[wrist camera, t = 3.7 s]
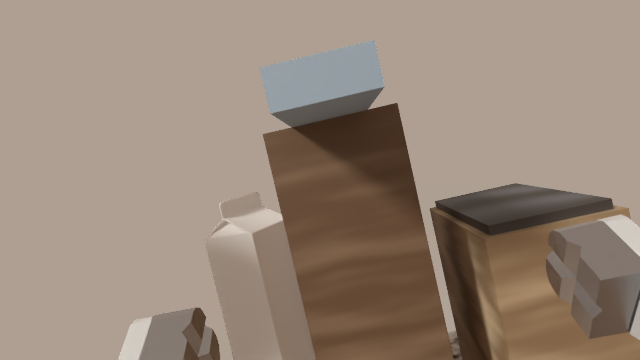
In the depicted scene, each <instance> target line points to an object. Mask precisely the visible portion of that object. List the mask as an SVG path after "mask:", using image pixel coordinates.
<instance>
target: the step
mask: <svg viewBox="0 0 640 360" xmlns="http://www.w3.org/2000/svg"><path fill="white" fill-rule="evenodd" d="M435 203H436V207H434V208H430V212H431V217H432V221H433V226H434V230H435V235H436V240H437V244H438V248H439V253H440V258H441V262H442V267H443V272H444V276H445V281H446V286H447V290H448V295H449V299H450V304H451V309H452V313H453V317H454V322H455V327H456V331H457V336H458V341H459V345H460V350H461V354H462V359H463V360H640V340H639V339H637V338H635V337H634V336H632V335H631V334H630V332H626V333H621V334H615V335H610V336H604V337H598V338H593V339H588V337H587V336H586V335H585V333H584V332H583V330H582V329H581V328H580V326H579V325H578V324H577V322H576V321H575V319H574V318H573V317H572V315H571V307H572V304H570V303H568V302H566V301H564V300H562V299H560V298H559V297H558V296H557V294H556V293H555V291H554V290H553V288H552V286H551V284H550V282H549V280H548V276H547V272H546V258H547V256H548V255H549V254H550V253H551V252H552V251H553V249H552V248H551V247H550V246H549V244H548V237H549V234H550V232H551V231H552V230H554V229H559V228H563V227H568V226H572V225H576V224H581V223H585V222H590V221H596V220H599V219H603V218H608V217H612V216H616V215H624V216H626V217H628V218H629V219H630V220H631V218H630V214H629V208H625V207H619V206H614V205H613V203H612V199H611V198H604V197H598V196H591V195H585V194H579V193H572V192H566V191H560V190H553V189H547V188H540V187H534V186H528V185H522V184H511V185H506V186H502V187H497V188H493V189H488V190H484V191H479V192H475V193H470V194H466V195H461V196H457V197H452V198H448V199H443V200H439V201H435Z"/></svg>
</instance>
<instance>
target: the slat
mask: <svg viewBox="0 0 640 360" xmlns="http://www.w3.org/2000/svg"><path fill="white" fill-rule="evenodd" d="M260 71H261V75H262V79H263V84H264V88H265V92H266V96H267V101H268V105H269V109H270V114H272V115H273V116H275V117H276V118H278V119H280V120H281V121H283V122H284V123H286V124H287V125H289V126H291V127H296V126H301V125H305V124H309V123H313V122H318V121H322V120H326V119H331V118H335V117H339V116H343V115H348V114H352V113H356V112H360V111H365V110H368V108H369V107H370V106H371V104H372V103H373V102H374V100H375V99H376V98H377V96H378V95H379V93H380V92H381V91H382V90H383V88H384V83H383V77H382V73H381V68H380V64H379V59H378V54H377V50H376V45H375V41H374V40H373V41H369V42H365V43H360V44H356V45H352V46H348V47H344V48H340V49H335V50H332V51H328V52H323V53H319V54H315V55H311V56H307V57H302V58H298V59H294V60H290V61H286V62H282V63H277V64H273V65H269V66H265V67H261V68H260Z"/></svg>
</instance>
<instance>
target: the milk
mask: <svg viewBox="0 0 640 360" xmlns="http://www.w3.org/2000/svg"><path fill="white" fill-rule="evenodd" d="M219 206H220V212H221V216H222V220H221V221H220V222H219V224H218V225H217V226H216V227H215V228H214V229H213V230H212V232H211V233H210V234H209V235H208V236H207V238H206V239H205V244H206V248H207V252H208V257H209V260H210V265H211V269H212V272H213V277H214V280H215V285H216V289H217V293H218V297H219V301H220V305H221V309H222V313H223V317H224V321H225V326H226V330H227V334H228V338H229V341H230V346H231V350H232V354H233V358H234V360H316V358H315V354H314V349H313V345H312V341H311V337H310V332H309V328H308V324H307V320H306V315H305V311H304V307H303V303H302V298H301V294H300V290H299V286H298V281H297V277H296V273H295V269H294V264H293V260H292V256H291V252H290V247H289V243H288V239H287V235H286V230H285V226H284V222H283V218H282V215H281V214H279V213H277V212H275V211H272V210H270V209H268V208H266V207H264V206H262V204H261V200H260V196H259V193H258V192H255V193H251V194H248V195H244V196H241V197H237V198H234V199H231V200H227V201H224V202H221V203H220V205H219Z"/></svg>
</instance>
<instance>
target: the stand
mask: <svg viewBox="0 0 640 360" xmlns="http://www.w3.org/2000/svg"><path fill="white" fill-rule="evenodd" d="M263 137H264V141H265V145H266V149H267V154H268V158H269V162H270V167H271V171H272V175H273V179H274V184H275V188H276V192H277V196H278V201H279V205H280V209H281V213H282V218H283V222H284V226H285V230H286V235H287V239H288V243H289V247H290V252H291V256H292V260H293V264H294V269H295V273H296V277H297V281H298V286H299V290H300V294H301V298H302V303H303V307H304V311H305V315H306V320H307V324H308V328H309V332H310V337H311V341H312V345H313V349H314V354H315V358H316V360H453V355H452V351H451V346H450V342H449V337H448V332H447V328H446V323H445V319H444V314H443V310H442V305H441V300H440V296H439V291H438V287H437V283H436V278H435V273H434V269H433V265H432V260H431V255H430V251H429V246H428V241H427V237H426V233H425V227H424V223H423V219H422V214H421V209H420V205H419V200H418V196H417V191H416V186H415V182H414V177H413V173H412V168H411V164H410V159H409V155H408V150H407V145H406V141H405V136H404V132H403V127H402V122H401V118H400V113H399V109H398V104H397V103H395V104H390V105H386V106H382V107H378V108H373V109H370V110H365V111H360V112H356V113H352V114H348V115H343V116H339V117H335V118H331V119H326V120H322V121H318V122H313V123H309V124H305V125H301V126H296V127H292V128H288V129H284V130H279V131H275V132H271V133H266V134H263Z"/></svg>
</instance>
